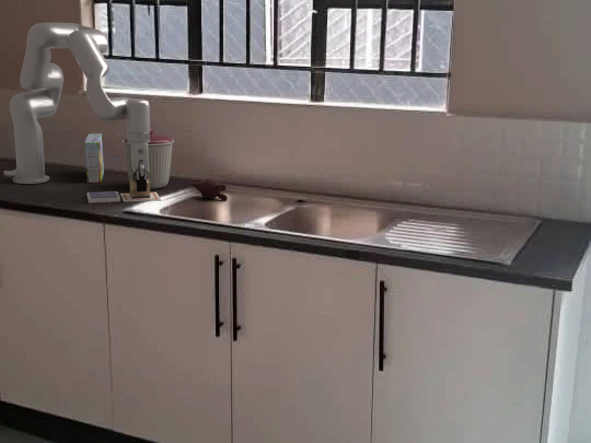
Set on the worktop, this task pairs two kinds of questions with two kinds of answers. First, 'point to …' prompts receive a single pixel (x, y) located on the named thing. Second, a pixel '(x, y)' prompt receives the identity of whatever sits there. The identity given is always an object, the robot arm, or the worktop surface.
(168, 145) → the canister
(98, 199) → the ink pad
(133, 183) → the stamp
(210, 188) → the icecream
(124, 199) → the marked card
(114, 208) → the worktop surface
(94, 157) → the snack box
